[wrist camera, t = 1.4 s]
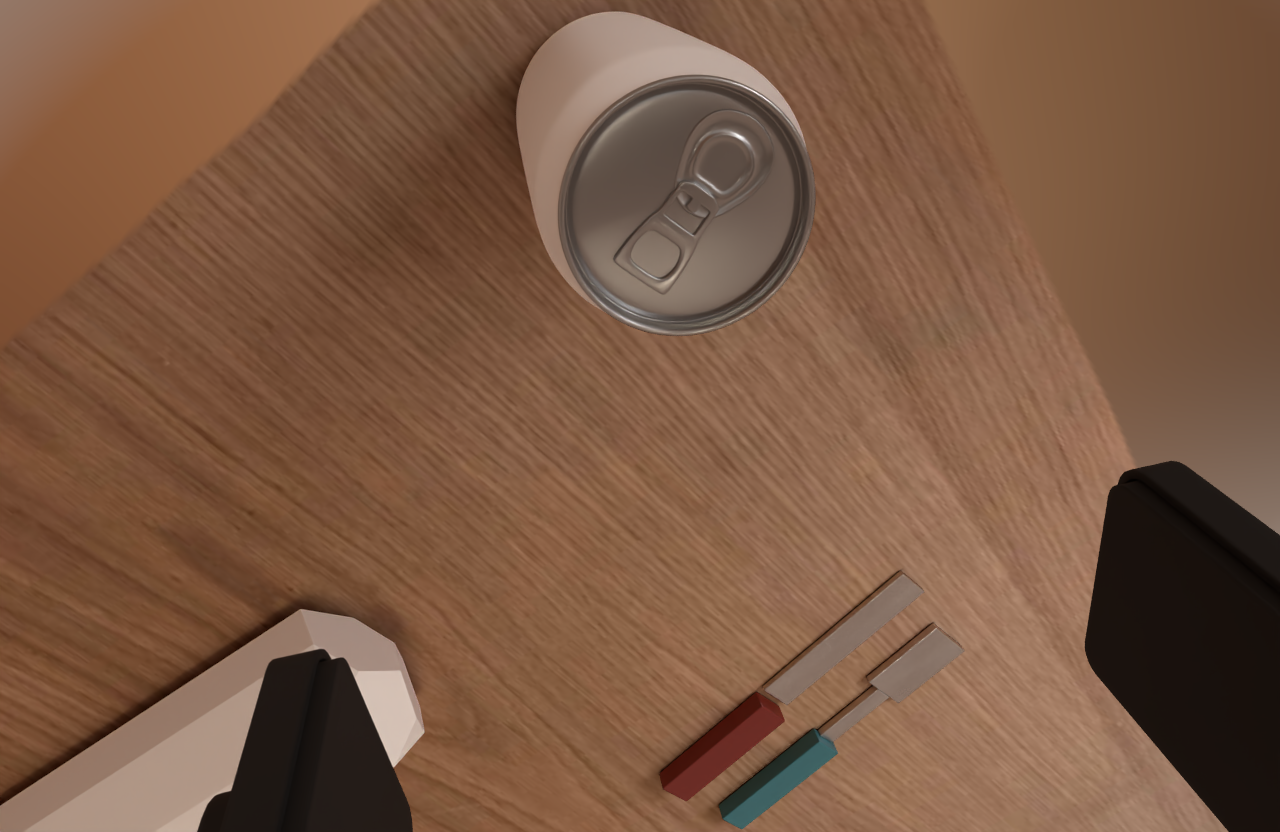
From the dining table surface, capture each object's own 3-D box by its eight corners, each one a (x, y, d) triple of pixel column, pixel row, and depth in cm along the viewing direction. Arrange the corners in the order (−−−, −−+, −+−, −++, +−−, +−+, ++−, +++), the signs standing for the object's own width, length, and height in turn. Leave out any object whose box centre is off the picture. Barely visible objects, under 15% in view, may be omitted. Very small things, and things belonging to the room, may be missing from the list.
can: (746, 93, 29) (895, 177, 19) (631, 247, 31) (709, 401, 21) (590, -38, 27) (664, -23, 16) (476, 140, 28) (476, 255, 18)
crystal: (66, 1014, 40) (485, 762, 37) (-106, 1054, 34) (378, 756, 31) (55, 850, 44) (435, 608, 40) (-102, 861, 38) (330, 577, 34)
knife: (900, 569, 41) (909, 583, 40) (922, 588, 42) (931, 601, 41) (658, 773, 45) (662, 789, 44) (682, 785, 46) (686, 802, 45)
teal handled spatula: (932, 622, 43) (941, 635, 42) (961, 645, 44) (970, 658, 43) (711, 801, 47) (715, 816, 46) (743, 818, 48) (748, 833, 47)
